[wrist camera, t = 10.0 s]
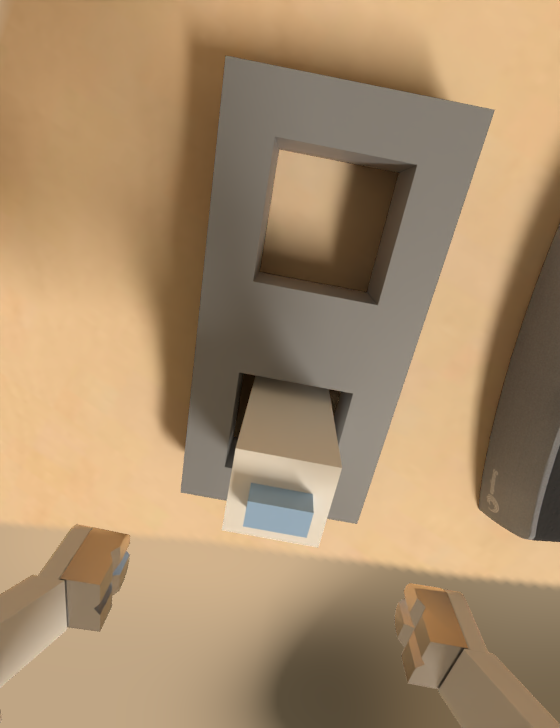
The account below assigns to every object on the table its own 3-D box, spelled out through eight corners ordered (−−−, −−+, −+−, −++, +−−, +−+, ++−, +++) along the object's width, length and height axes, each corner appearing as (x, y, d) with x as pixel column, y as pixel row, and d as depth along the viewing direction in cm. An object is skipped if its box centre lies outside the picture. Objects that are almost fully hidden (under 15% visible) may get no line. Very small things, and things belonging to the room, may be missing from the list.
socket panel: (238, 82, 16) (225, 55, 14) (462, 127, 17) (494, 109, 14) (194, 459, 24) (180, 492, 21) (350, 488, 24) (357, 523, 21)
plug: (257, 367, 21) (230, 465, 13) (327, 380, 21) (344, 486, 13) (247, 427, 23) (216, 550, 14) (312, 439, 23) (319, 568, 15)
